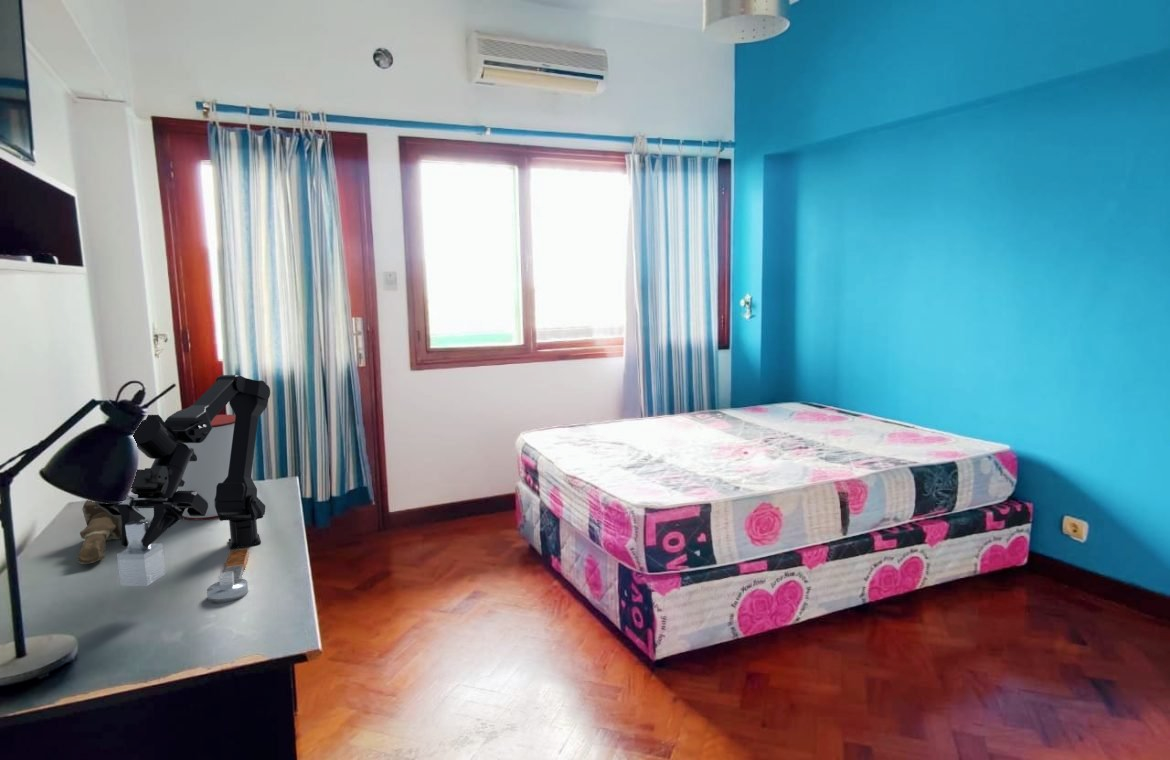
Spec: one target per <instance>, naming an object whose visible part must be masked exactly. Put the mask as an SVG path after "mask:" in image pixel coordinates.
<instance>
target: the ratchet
mask: <svg viewBox="0 0 1170 760" xmlns="http://www.w3.org/2000/svg"><path fill="white" fill-rule="evenodd" d="M248 558H250V552H249V548H245V547H244V548H237V549H230V551H229V554H228V557H227V559H226V563H225V569H224V572H223V571H222V572H221V573H220V574H219V576H218V581H217V582H215V583H213V584H211V585H210V586H208V587H207V589H206V595H207V601H208V602H209V603H210V604H214V605H221V604H228V603H233V602H236V601H238V600H241V599H243V598H245V597H246V596H247V595H248V594H249V586H248V580H246V579H245V578H243V577H242V575H243V576H244V573H245V571H246V569H247V566H246V565H248V562H249V559H248ZM245 568H246V569H245ZM244 570H245V571H244ZM243 572H244V573H243Z"/></svg>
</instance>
